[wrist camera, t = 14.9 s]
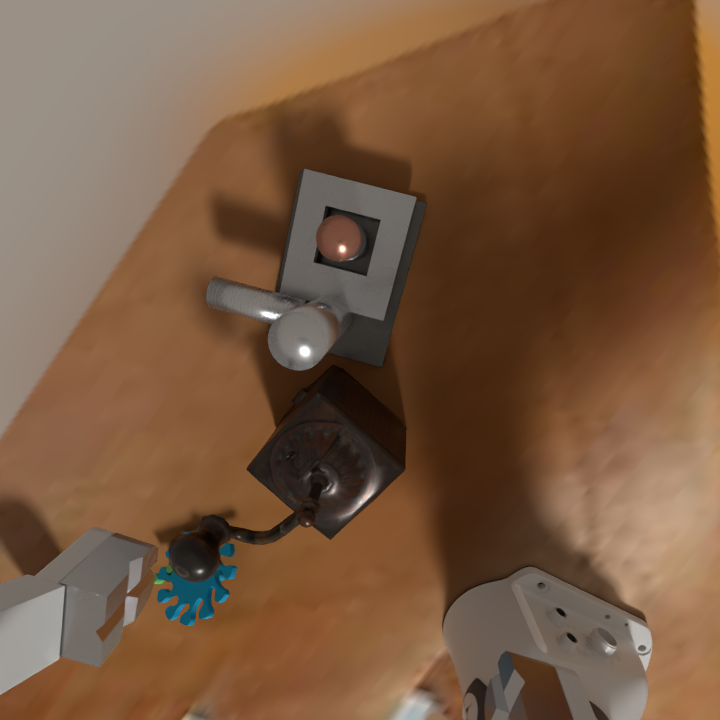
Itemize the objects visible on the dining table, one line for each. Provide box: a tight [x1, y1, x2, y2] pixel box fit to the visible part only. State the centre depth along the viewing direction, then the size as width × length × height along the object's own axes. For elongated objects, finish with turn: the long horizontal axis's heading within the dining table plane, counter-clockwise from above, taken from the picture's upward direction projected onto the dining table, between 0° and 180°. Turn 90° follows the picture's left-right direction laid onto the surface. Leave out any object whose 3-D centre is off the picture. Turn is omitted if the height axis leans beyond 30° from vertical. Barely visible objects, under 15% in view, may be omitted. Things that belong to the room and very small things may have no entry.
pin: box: [316, 215, 370, 261], centre depth 36 cm, size 3×3×8 cm
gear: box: [154, 527, 237, 626], centre depth 49 cm, size 11×6×10 cm
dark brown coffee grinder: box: [169, 365, 407, 583], centre depth 38 cm, size 16×11×18 cm
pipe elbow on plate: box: [206, 169, 427, 371], centre depth 35 cm, size 16×16×15 cm
